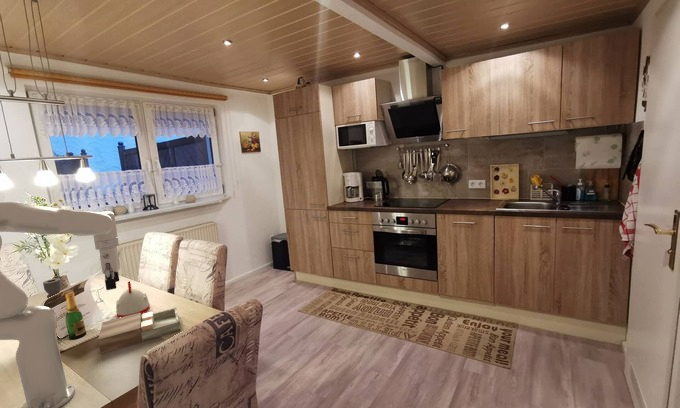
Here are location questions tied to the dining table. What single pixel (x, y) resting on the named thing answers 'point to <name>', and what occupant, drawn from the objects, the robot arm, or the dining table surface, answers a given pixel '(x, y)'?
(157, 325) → the stepped long block
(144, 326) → the salmon pink block
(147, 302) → the white dome with stick
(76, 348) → the dining table surface
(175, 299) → the dining table surface
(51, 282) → the candle holder
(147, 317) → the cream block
